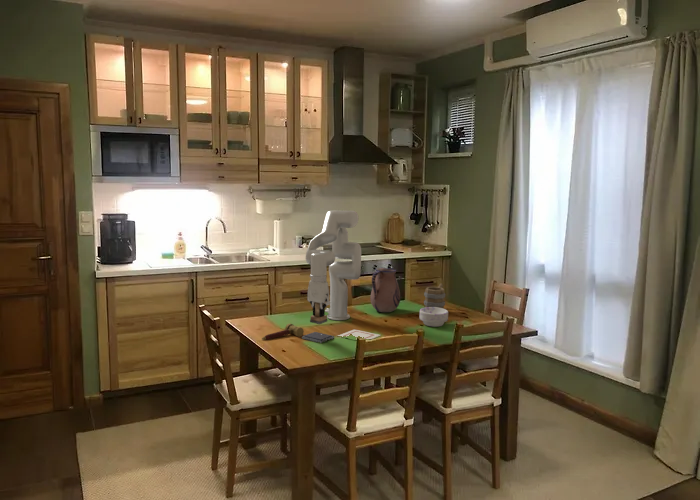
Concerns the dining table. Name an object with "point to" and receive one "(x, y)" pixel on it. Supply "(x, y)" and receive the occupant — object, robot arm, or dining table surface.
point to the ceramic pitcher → (385, 290)
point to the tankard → (434, 297)
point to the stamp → (318, 315)
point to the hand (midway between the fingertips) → (318, 315)
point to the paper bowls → (433, 316)
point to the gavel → (285, 332)
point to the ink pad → (317, 337)
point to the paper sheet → (360, 334)
